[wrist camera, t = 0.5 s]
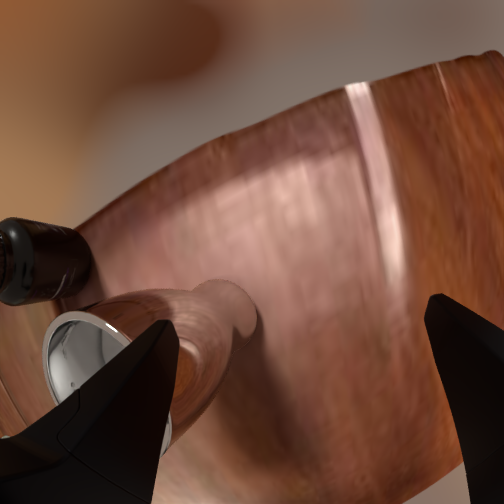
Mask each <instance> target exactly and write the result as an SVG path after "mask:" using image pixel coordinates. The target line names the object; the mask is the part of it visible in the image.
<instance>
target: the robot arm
mask: <svg viewBox="0 0 504 504" xmlns="http://www.w3.org/2000/svg"><path fill="white" fill-rule="evenodd" d="M424 322H425V326H426V330H427V333H428V337H429V340H430V344H431V348H432V352H433V356H434V359H435V363H436V366H437V369H438V372H439V375H440V378H441V381H442V384H443V387H444V390H445V393H446V396H447V399H448V402H449V406H450V409H451V412H452V416H453V419H454V423H455V427H456V431H457V435H458V439H459V443H460V447H461V451H462V456H463V461H464V465H465V470H466V477H467V483H468V489H469V496H470V502H471V504H504V331H503V330H502V329H500V328H499V327H497V326H496V325H494V324H492V323H491V322H489V321H488V320H486V319H484V318H483V317H481V316H480V315H478V314H476V313H475V312H473V311H471V310H470V309H468V308H466V307H465V306H463V305H461V304H460V303H458V302H456V301H455V300H453V299H451V298H450V297H448V296H446V295H444V294H442V293H440V294H434V295H431V296H430V298H429V301H428V304H427V308H426V312H425V315H424ZM179 347H180V341H179V337H178V335H177V332H176V330H175V327H174V325H173V323H172V321H171V320H169V319H159V320H157V321H155V322H154V323H153V324H152V325H151V326H150V327H148V328H147V329H146V330H145V331H144V332H143V333H141V334H140V335H139V336H138V337H137V338H136V339H134V340H133V341H132V342H131V343H130V344H129V345H127V346H126V347H125V348H124V349H123V350H122V351H120V352H119V353H118V354H117V355H116V356H115V357H113V358H112V359H111V360H110V361H109V362H108V363H106V364H105V365H104V366H103V367H102V368H101V369H100V370H98V371H97V372H96V373H95V374H94V375H93V376H91V377H90V378H89V379H88V380H87V381H86V382H85V383H83V384H82V385H81V386H80V388H78V389H76V390H75V391H74V392H73V393H72V394H71V395H70V396H68V397H67V398H66V399H65V400H64V401H62V402H61V403H60V404H59V405H57V406H56V407H55V408H53V409H52V410H51V411H49V412H48V413H47V414H45V415H44V416H43V417H41V418H40V419H39V420H37V421H36V422H34V423H33V424H32V425H30V426H29V427H27V428H26V429H25V430H23V431H22V432H20V433H19V434H17V435H15V436H12V437H8V438H0V504H151V501H152V496H153V490H154V485H155V479H156V474H157V469H158V464H159V459H160V454H161V449H162V444H163V439H164V434H165V430H166V425H167V420H168V416H169V411H170V407H171V402H172V398H173V393H174V388H175V381H176V372H177V364H178V355H179Z"/></svg>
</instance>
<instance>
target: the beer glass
mask: <svg viewBox="0 0 504 504" xmlns="http://www.w3.org/2000/svg"><path fill="white" fill-rule="evenodd" d="M159 319H169V320H171V321H172V323H173V325H174V327H175V330H176V332H177V335H178V337H179V341H180V347H179V355H178V364H177V372H176V381H175V388H174V393H173V398H172V402H171V407H170V411H169V416H168V420H167V425H166V430H165V434H164V439H163V444H162V449H161V454H160V458H161V457H162V456H163V455H164V454H165V452H166V451H167V450H168V449H169V448H170V447H171V446H172V445H173V444H174V443H175V442H176V441H177V440H178V439H179V438H180V437H181V436H182V435H184V434H185V433H186V432H187V431H188V430H189V429H190V428H191V427H192V426H193V424H194V423H195V422H196V421H197V420H198V419H199V418H200V417H201V415H202V414H203V413H204V412H205V411H206V410H207V408H208V407H209V406H210V404H211V403H212V401H213V400H214V398H215V397H216V395H217V394H218V392H219V390H220V388H221V386H222V384H223V382H224V379H225V377H226V375H227V372H228V370H229V366H230V363H231V360H232V356H233V353H234V352H235V351H237V350H238V349H240V348H242V347H243V346H244V345H246V344H247V343H248V341H249V340H250V339H251V338H252V336H253V334H254V332H255V329H256V323H257V314H256V309H255V306H254V303H253V301H252V299H251V297H250V296H249V295H248V293H247V292H246V291H245V290H244V289H243V288H241V287H240V286H239V285H237V284H235V283H233V282H231V281H228V280H223V279H213V280H208V281H205V282H203V283H201V284H199V285H198V286H196V287H195V288H194V289H193V290H192V291H190V290H180V289H146V290H140V291H134V292H128V293H125V294H121V295H117V296H114V297H110V298H107V299H104V300H101V301H99V302H96V303H93V304H90V305H88V306H85V307H82V308H80V309H77V310H74V311H68V312H65V313H62V314H60V315H59V316H57V317H56V318H55V319H54V320H53V321H52V322H51V324H50V325H49V327H48V329H47V331H46V333H45V336H44V340H43V346H42V363H43V370H44V375H45V379H46V383H47V386H48V388H49V391H50V394H51V396H52V398H53V400H54V402H55V404H56V406H57V405H59V404H60V403H61V402H62V401H64V400H65V399H66V398H67V397H68V396H70V395H71V394H72V393H73V392H74V391H75V390H76V389H78V388H80V386H81V385H82V384H83V383H85V382H86V381H87V380H88V379H89V378H90V377H91V376H93V375H94V374H95V373H96V372H97V371H98V370H100V369H101V368H102V367H103V366H104V365H105V364H106V363H108V362H109V361H110V360H111V359H112V358H113V357H115V356H116V355H117V354H118V353H119V352H120V351H122V350H123V349H124V348H125V347H126V346H127V345H129V344H130V343H131V342H132V341H133V340H134V339H136V338H137V337H138V336H139V335H140V334H141V333H143V332H144V331H145V330H146V329H147V328H148V327H150V326H151V325H152V324H153V323H154V322H155V321H157V320H159Z"/></svg>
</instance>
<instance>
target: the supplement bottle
mask: <svg viewBox="0 0 504 504" xmlns="http://www.w3.org/2000/svg"><path fill="white" fill-rule="evenodd" d="M90 268H91V258H90V252H89V248H88V246H87V244H86V242H85V240H84V238H83V237H82V236H81V235H80V234H79V233H78V232H77V231H75V230H73V229H71V228H67V227H63V226H58V225H53V224H48V223H43V222H38V221H33V220H28V219H23V218H17V217H10V218H6V219H4V220H2V221H1V222H0V301H1V302H2V303H4V304H6V305H9V306H21V305H27V304H33V303H39V302H45V301H51V300H57V299H63V298H68V297H71V296H74V295H76V294H77V293H79V292H80V291H81V290H82V289H83V287H84V286H85V284H86V282H87V280H88V277H89V274H90Z"/></svg>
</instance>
